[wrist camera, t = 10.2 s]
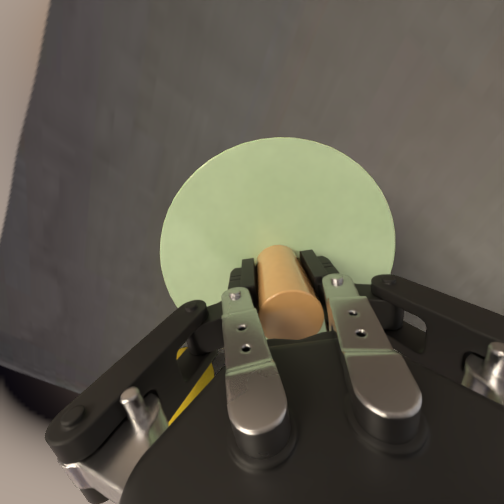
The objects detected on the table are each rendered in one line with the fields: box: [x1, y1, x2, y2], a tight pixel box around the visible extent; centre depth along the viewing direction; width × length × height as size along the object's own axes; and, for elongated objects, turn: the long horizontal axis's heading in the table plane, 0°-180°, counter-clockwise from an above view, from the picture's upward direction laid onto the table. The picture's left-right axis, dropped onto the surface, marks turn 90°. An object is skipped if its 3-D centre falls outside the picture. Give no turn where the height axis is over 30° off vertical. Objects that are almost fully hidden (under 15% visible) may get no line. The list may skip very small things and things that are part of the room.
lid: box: [160, 137, 395, 340], centre depth 13 cm, size 15×15×7 cm
